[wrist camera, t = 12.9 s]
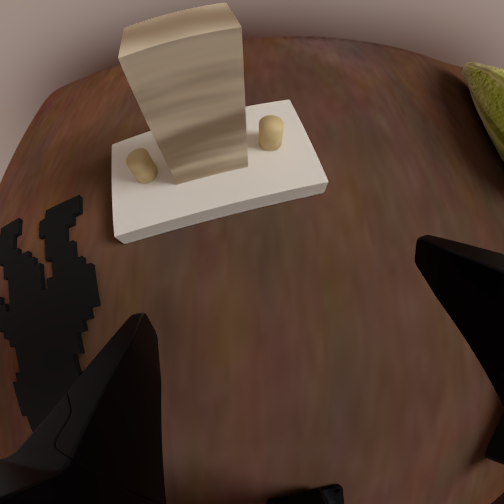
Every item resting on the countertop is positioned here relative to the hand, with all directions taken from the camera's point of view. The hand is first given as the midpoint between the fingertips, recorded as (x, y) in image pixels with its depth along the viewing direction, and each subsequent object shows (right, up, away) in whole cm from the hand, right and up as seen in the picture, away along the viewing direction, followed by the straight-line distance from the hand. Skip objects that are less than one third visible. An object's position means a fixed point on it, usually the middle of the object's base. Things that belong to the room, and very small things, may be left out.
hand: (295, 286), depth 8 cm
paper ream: (-5, +9, +15) cm, 18 cm away
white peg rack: (-5, +9, +17) cm, 19 cm away
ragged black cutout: (-20, -8, +13) cm, 25 cm away
